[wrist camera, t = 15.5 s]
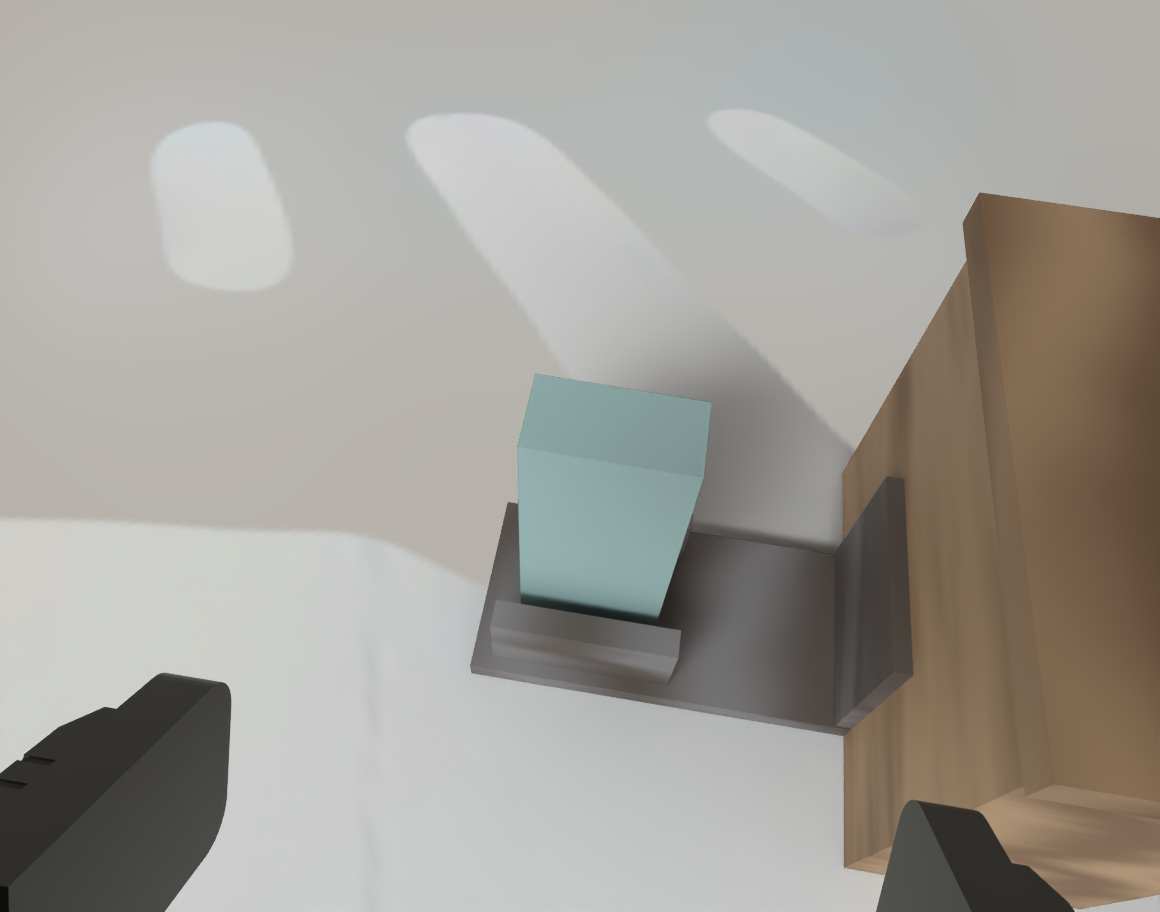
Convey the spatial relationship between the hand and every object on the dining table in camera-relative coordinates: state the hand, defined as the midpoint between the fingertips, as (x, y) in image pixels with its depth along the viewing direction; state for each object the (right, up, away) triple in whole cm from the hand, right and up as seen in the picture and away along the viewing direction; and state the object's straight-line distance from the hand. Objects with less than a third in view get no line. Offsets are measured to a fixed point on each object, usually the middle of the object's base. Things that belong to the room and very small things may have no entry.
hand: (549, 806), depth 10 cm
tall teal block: (+1, -1, +24) cm, 24 cm away
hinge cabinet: (+8, -3, +24) cm, 26 cm away
